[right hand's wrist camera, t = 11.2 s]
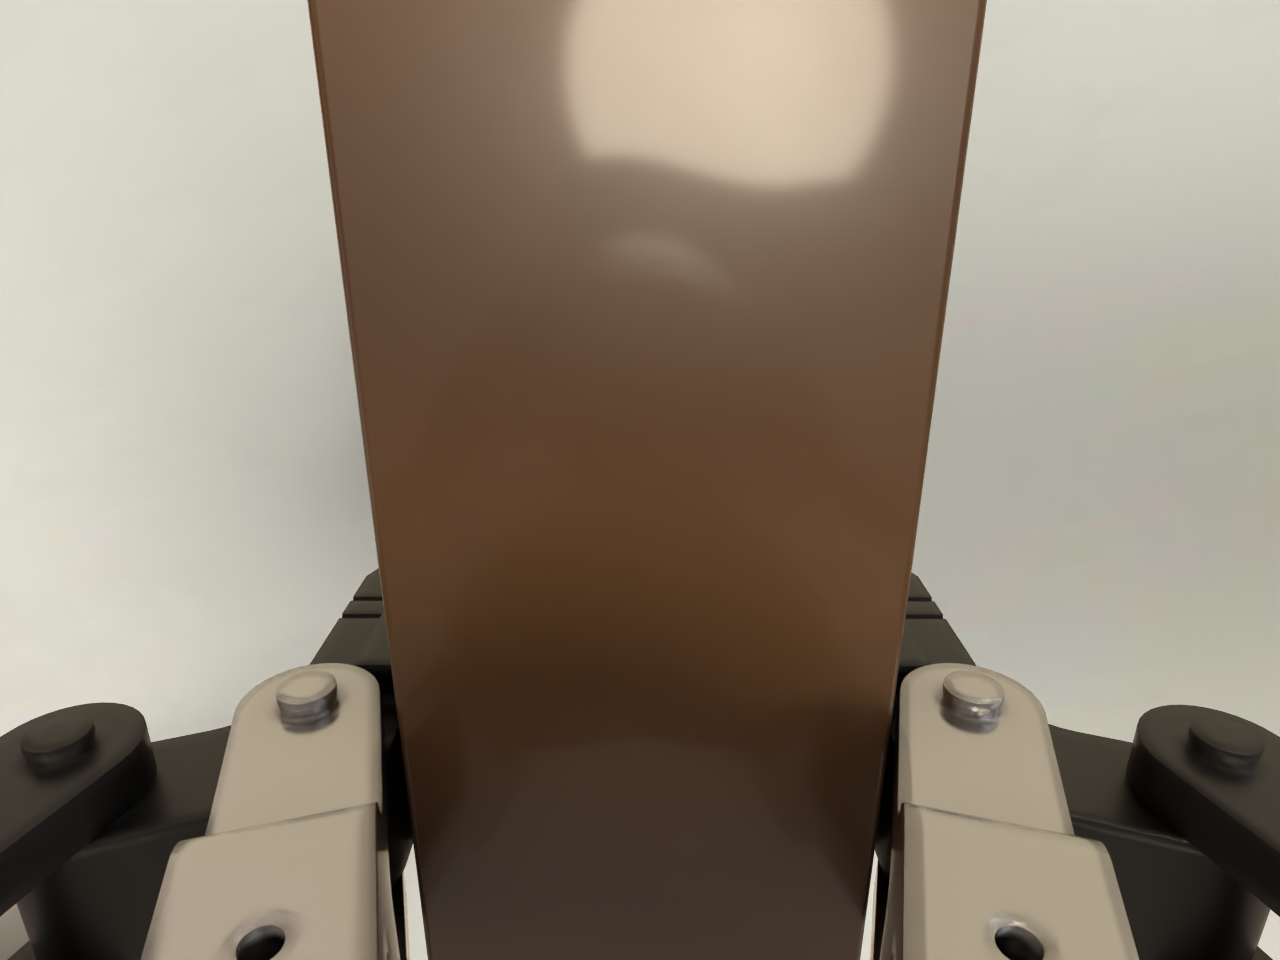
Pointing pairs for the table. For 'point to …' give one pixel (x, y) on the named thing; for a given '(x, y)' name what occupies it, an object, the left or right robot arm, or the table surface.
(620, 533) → the beam
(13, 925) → the bust sculpture
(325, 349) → the table surface
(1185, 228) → the table surface
